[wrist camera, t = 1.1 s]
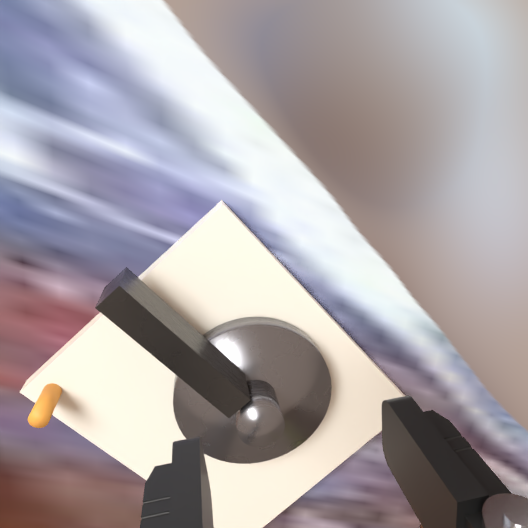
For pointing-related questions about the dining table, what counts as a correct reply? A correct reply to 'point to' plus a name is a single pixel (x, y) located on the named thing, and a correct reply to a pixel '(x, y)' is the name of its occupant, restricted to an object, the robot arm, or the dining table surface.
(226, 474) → the dial base
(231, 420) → the dial
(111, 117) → the dining table surface
